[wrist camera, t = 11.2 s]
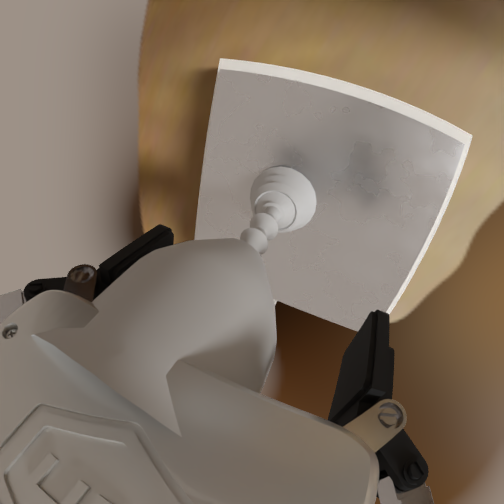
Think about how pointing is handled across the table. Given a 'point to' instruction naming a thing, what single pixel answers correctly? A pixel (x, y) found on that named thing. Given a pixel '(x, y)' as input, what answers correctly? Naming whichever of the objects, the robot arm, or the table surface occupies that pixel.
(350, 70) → the table surface
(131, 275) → the chalice
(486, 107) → the table surface
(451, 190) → the base
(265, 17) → the table surface
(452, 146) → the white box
